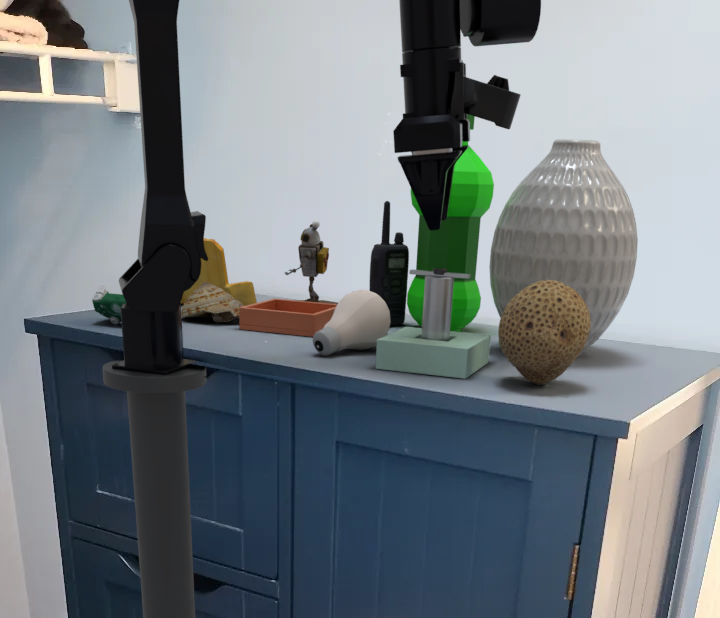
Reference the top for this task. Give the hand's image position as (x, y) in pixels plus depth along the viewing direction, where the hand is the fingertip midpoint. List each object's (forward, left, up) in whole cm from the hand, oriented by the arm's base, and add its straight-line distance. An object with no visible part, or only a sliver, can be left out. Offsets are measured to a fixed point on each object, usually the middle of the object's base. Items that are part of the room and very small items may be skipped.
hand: (438, 224), depth 99 cm
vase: (+12, -11, -14) cm, 21 cm away
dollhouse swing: (+23, +40, -14) cm, 48 cm away
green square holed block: (-3, -1, -14) cm, 14 cm away
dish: (+11, +22, -14) cm, 28 cm away
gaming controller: (+2, +40, -14) cm, 42 cm away
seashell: (+11, +33, -14) cm, 37 cm away
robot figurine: (+25, +25, -14) cm, 38 cm away
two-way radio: (+21, +13, -14) cm, 28 cm away
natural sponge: (-7, -13, -14) cm, 21 cm away
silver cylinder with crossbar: (-3, -1, -14) cm, 14 cm away
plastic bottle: (+21, +5, -14) cm, 25 cm away
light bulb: (0, +10, -14) cm, 17 cm away
